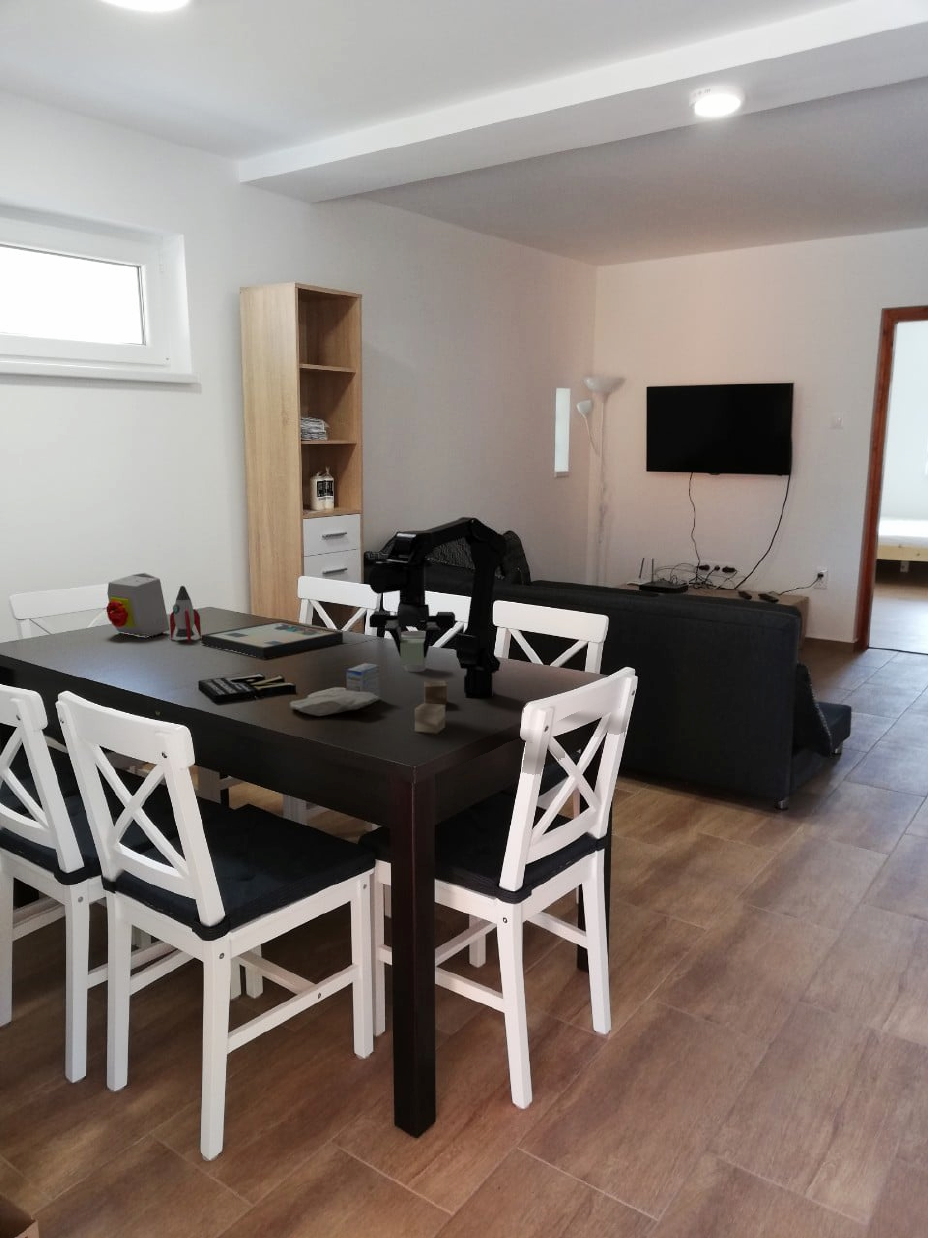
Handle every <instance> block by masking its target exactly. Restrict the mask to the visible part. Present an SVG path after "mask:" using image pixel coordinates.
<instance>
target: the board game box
mask: <svg viewBox="0 0 928 1238" xmlns="http://www.w3.org/2000/svg"><path fill="white" fill-rule="evenodd" d="M343 633H344V632H341V631H338V630H336V631H335V630H330V629H325V628H321V627H314V626H310V625H303V624H299V623H298V624H297V623H293V622H287V621H282V620H279V621H278V620H277V621H274V622H268V623H267V622H266V623H261V624H255V625H251V626H244V627H239V628H233V629H229V630H222V631H217V632H211V633H206V634H205V633H204V634H201V645H202V644H204V645H208V646H213V647H217V648H221V649H228V650H233V651H237V652H241V653H245V654H248V655H253V656H256V657H260V658H268V659H270V658H269V657H273V656H277V657H279V656H278V655H282V656H284V655H283V654H287V655H289V654H288V653H292V654H294V653H293V652H296V653H300V651H301V652H305V650H306V651H309V649H310V650H313V649H319V648H320V649H321V648H323V647H329V646H334V645H338V643H339V644H342V643H344V634H343ZM221 649H220V650H221ZM260 658H259V659H260ZM273 658H274V657H273Z"/></svg>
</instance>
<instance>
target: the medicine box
mask: <svg viewBox="0 0 928 1238" xmlns="http://www.w3.org/2000/svg"><path fill="white" fill-rule="evenodd" d="M380 681H381V680H380V665H379V664H374V663H366V662H364V663H362V664H359V665H356V666H353V667H350V668H348V669H347V670H346V689H347V691H356V692H370V693H373V694H374V695H376V696H378V697H379V699H378V700H380V697H381V695H380V691H381V690H380V688H381V687H380ZM378 700H377V701H378Z"/></svg>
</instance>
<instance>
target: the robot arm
mask: <svg viewBox="0 0 928 1238" xmlns="http://www.w3.org/2000/svg"><path fill="white" fill-rule="evenodd" d="M457 540H463V542H464V543H465V544H466V546H468V547H469V548H470V549H469V551H470V555H469V556H470V559H471V562H472V564H473V568H474V573H473V581H472V588H471V593H470V595H471V596H470V602H469V611H468V612H469V613H468V617H467V625H466V628H465V630H464V631H463V632H462V633H457V635H456V644H455V648H454V651H456V652H455V656H456V658H457V660H458V663H459V667H460V669H461V670H462V669H463V670H466V672H465V674H464V676H463V693H464V694H465V697H466V698H493V696H494V688H493V687H494V686H493V685H494V684H493V683H494V678H493V677H494V674H495V673H496V672H498V671H500V666H501V661H500V660H499V659H498V657H496V656H495V653H493V641H492V639H491V635H490V634H489V633H490V632H489V629H488V627H489V623H490V622H489V621H490V614H491V607H492V600H493V590H494V585H495V578H496V576H495V575H496V571H497V570H498V568H499V567H500V565H501V564H502V563H503V561H504V558H505V554H506V551H507V550H506V549H507V540H506V539H505V537H504V535H502V534H501V533H498V532H497V531H496V530H494V529H492V528H491V527H489V526H487V525H486V524H484V523H483V522H482V521H480V519H478V518H477V517H471V516H470V517H469V516H467V517H466V516H462V517H460V518H458V519H455V520H452V521H450V522H446V523H444V524H441V525H437V526H434V527H432V528H428V529H425V530H406V531H400V532H399V533H397V534H396V537H395V539H394V542H393V544H392V546H391V548H390V550H389V552H388V554H387V555H386V557H385V560H384V561H376V562H374V568H372V570H371V571H370V573H369V576H368V584H369V586H370V589H371V590H372V592H374V593H375V594H377V595H378V594H379V595H380V594H387V593H393V592H399V603H398V605H397V611H396V614H391V611H390V610H389V611H388V610H387V611H385V610H375V611H374V612H373V613H372V614H371V615H369V627H370V628H382V629H383V630H384V631H385V632H388V633H389V635H391V638H392V639H393V641H394V644H395V647H396V649H397V653H398V655H399V657H400V658H401V651H400V643H401V642H402V636H401V632H402V628H404V627H405V628H406V627H412V628H419V627H420V625H423V624H424V625H425V624H426V626H427V627H426V628H425V631H426V635H425V644H424V658H426V656H427V657H428V652H429V648H430V646H431V643H432V640H433V637H434V635H435V633H438V632H440V630H441V629H453V628H454V627H455V625H456V614H455V613H454V612H453V611H437V613H435V615H430V606H429V603H428V604H426V568H432V567H433V564H432V562H431V561H429V560H428V559H427V557H429V556H430V555H431V554H433V553H434V551H435V550H436V549H437V548H438V547H441V546H444V545H446V544H449V543H450V544H451V543H453V542H455V541H457Z"/></svg>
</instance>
